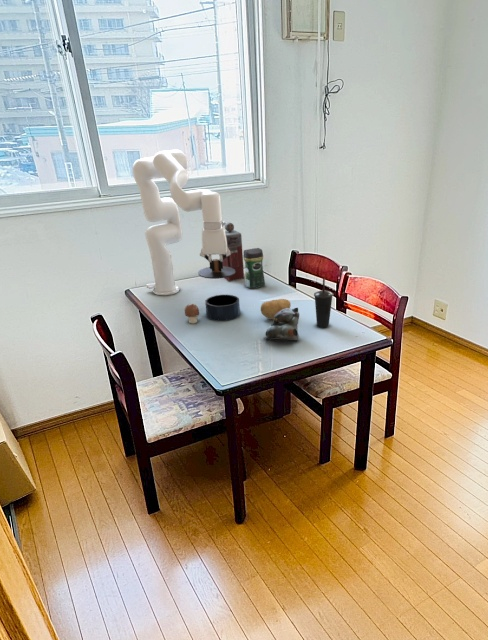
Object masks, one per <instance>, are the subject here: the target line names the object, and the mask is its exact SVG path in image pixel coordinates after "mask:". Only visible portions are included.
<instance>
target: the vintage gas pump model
mask: <svg viewBox="0 0 488 640" xmlns="http://www.w3.org/2000/svg"><path fill="white" fill-rule="evenodd" d="M224 229H225V233H226V240H227V247H228V249H229V250H230V252H231V255H229V256H227V257H226V258H225V259H224V260H223V262H222V263H223V266H226V267H231V268H233V269H235V274H234V275H232V276H230V277H226V278H224V279H225V280H226V281H228V282H233V281H239V280H243V279H244V280H245V269H244V258H243V255H244V252H243V240H242V239H243V238H242V237H243V236H242V233H241V232H240V231H237V230H235V225H234V224H233V223H232V222H230V221H229V222H226V225H224ZM222 256H223V254H222Z"/></svg>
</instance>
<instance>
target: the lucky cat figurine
mask: <svg viewBox="0 0 488 640" xmlns="http://www.w3.org/2000/svg"><path fill="white" fill-rule="evenodd" d="M299 319H300V312H299V307H294V308H291V307H290V308H286V309H282V310H281V311H280V312H278V313H277V314H276V315H275V316H274V319H273V321H272V324H271V325H270V326H269V327H268V328H267V329H266V331H265V332H264V333H265V334H264V335H265V336H264V337H263V340H264V339H265V340H266V341H267V340H287V341H295V342H297V341H298V340H299V338H300V336H299V335H300V334H299V329H298V324H299Z"/></svg>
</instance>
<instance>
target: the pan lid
mask: <svg viewBox="0 0 488 640" xmlns="http://www.w3.org/2000/svg"><path fill="white" fill-rule="evenodd" d="M219 259H220V258H214V259H213V258H212V261H213V269H214V271H213V272H212V269H210V266H208V267H204V268H203V267H202V268H201V269H199V270H198V272H197V274H198V276H199V277H201V278H204V279H211V280H217V279H225V278H226V277H230V276H232V275H234V274H235V269H233V268H231V267H226V266H223V269H221V271H220V268H219Z"/></svg>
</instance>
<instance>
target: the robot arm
mask: <svg viewBox="0 0 488 640" xmlns="http://www.w3.org/2000/svg"><path fill="white" fill-rule="evenodd" d="M188 166H189V160H188V156H187V155H186V154H185V152H183V151H182V150H179V149H169V150H161V151H159V152H156V153H155V154H154V156H149V157H143V158H140V159H139V158H138V159H137V160H135V161H134V163H133V165H132V174H133V175H132V176H133V179H134V181H135V183H136V185H137V188H138V191H139V194H140V201H141V205H142V210H143V214H144V218H145V219H146V221H147V222H149V223H157V222H163V221H166V222H164V223H157V224H153V225H151V226H149V227H147V228H146V230H145V233H144V234H145V235H144V236H145V240H146V243H147V245H148V249H149V253H150V260H151V265H152V271H153V272H152V273H153V277H154V282H153V283H146V286H145V287H146V288H147V289H149V290H152V289H153V291H152V292H153V294H155V295H157V296H171V295H175V294H177V293H179V291H180V287H179V286H178V285H176V280H175V279H176V278H175V273H174V264H173V257H172V254H171V252H170V250H169V249H168V248H167V247H166V246H168V245H173V244H177V243H179V242H181V241H182V240H183V227H182V222H181V217H180V211H179V208H180V209H181V210H182V211H184V212H187V213H191V212H195V211H201V213H202V224H203V228H201V250H200V251H199V257H201V258H204V259H205V260H206V261H208V263H209V267H210V269H212V272H213V271H214V269H213V257H212V256H214V255H216V256H217V255H219V258H218V259H219V268H220V271H221V269H223V263H222V262H223V260H224V259H225V258H226V257H227V256H229V255H231V252H230V250H229V249H228V247H227V240H226V233H225V231H226V229H225V225H226V223H227V221H223V216H222V215H223V214H222V203H221V201H222V200H221V194H220V193H219V192H216V191H212V190H210V189H208V188H200V189H193V190H186V191H185V190H184V189H183V188H184V187H185V186H186V184H187V183H188V181H189V172H188V171H187V169H188ZM156 179H164V180H165V181H166V182H168V183H169V192H170V195H171V197H161V195H160V189H159V186H158V185H157V184H156V182H155V181H154V180H156ZM222 254H223V256H222Z"/></svg>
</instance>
